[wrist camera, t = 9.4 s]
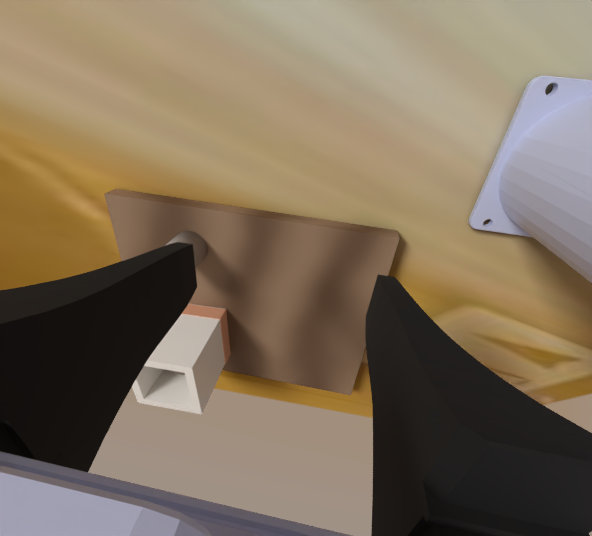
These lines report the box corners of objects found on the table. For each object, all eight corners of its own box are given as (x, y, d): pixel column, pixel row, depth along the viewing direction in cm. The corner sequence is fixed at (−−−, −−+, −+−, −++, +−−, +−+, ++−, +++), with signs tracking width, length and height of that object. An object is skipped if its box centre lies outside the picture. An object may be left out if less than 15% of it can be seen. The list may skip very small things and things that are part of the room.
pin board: (397, 230, 19) (410, 271, 15) (350, 384, 28) (350, 439, 23) (116, 188, 21) (54, 214, 17) (152, 345, 29) (118, 389, 25)
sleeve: (226, 308, 24) (192, 367, 19) (231, 352, 26) (202, 414, 21) (167, 300, 24) (118, 355, 19) (177, 344, 27) (137, 403, 22)
